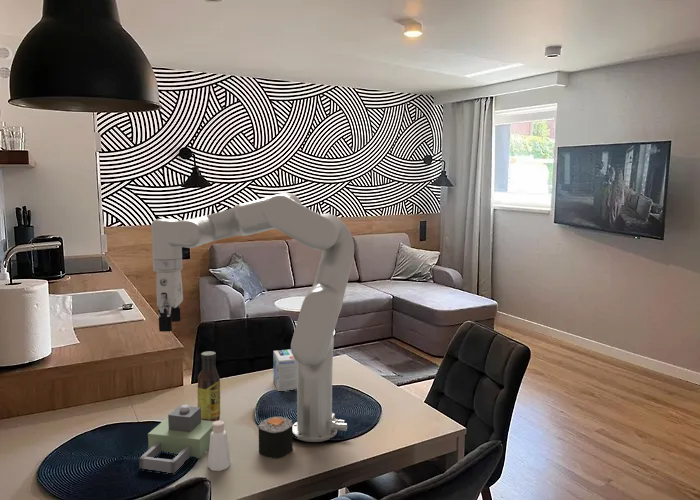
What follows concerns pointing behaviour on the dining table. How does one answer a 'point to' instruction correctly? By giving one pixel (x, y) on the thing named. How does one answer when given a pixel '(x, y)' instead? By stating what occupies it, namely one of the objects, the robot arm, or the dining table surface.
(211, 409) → the sauce bottle
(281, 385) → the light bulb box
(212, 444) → the pepper shaker
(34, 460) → the dining table surface
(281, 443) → the sushi
